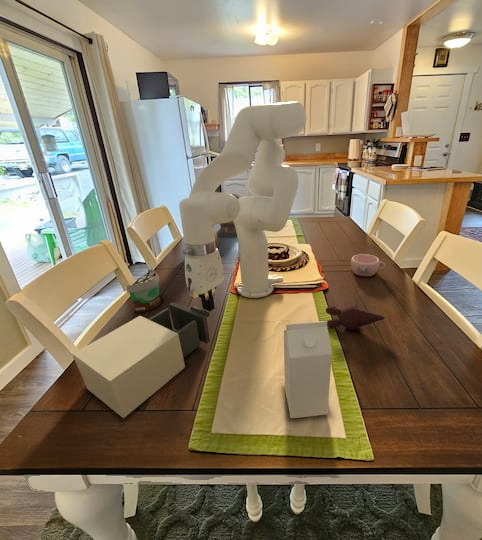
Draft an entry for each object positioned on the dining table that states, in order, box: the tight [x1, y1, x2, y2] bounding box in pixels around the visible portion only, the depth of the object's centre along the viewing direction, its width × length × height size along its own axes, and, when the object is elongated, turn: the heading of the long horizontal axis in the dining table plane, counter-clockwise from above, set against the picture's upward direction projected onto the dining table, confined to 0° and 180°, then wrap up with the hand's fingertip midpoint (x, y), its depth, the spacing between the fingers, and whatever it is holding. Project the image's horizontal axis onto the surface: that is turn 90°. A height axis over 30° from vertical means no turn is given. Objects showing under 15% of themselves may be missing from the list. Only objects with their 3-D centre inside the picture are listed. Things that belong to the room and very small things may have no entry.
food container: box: [126, 268, 161, 313], centre depth 91 cm, size 12×6×10 cm, turn 168°
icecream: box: [325, 304, 386, 331], centre depth 77 cm, size 7×7×15 cm
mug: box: [350, 253, 386, 277], centre depth 106 cm, size 12×10×6 cm
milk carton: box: [283, 320, 333, 419], centre depth 53 cm, size 7×7×19 cm
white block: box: [72, 315, 186, 419], centre depth 63 cm, size 16×14×10 cm
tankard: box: [216, 193, 240, 238], centre depth 154 cm, size 24×17×20 cm
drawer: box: [147, 301, 211, 359], centre depth 72 cm, size 19×13×8 cm
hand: (208, 308), depth 81 cm, fingers closed
